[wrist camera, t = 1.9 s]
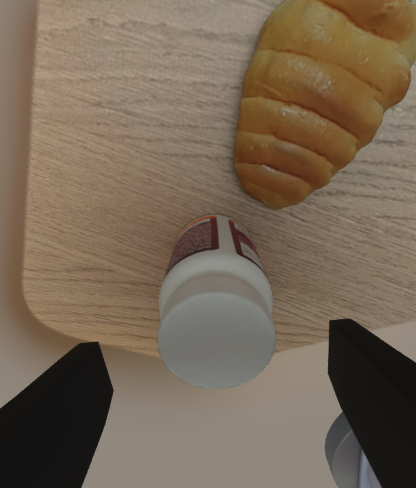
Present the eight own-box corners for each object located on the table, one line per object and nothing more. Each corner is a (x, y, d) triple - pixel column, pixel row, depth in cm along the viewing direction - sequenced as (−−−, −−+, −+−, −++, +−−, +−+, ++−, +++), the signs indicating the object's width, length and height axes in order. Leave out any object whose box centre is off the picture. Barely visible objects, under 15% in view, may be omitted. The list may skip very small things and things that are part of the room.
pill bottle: (171, 280, 18) (140, 390, 10) (179, 207, 16) (150, 272, 9) (245, 290, 18) (270, 406, 10) (261, 219, 17) (304, 293, 9)
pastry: (307, 221, 17) (332, 243, 13) (200, 172, 16) (196, 182, 12) (410, 46, 14) (481, 13, 10) (284, -26, 13) (311, -90, 9)
